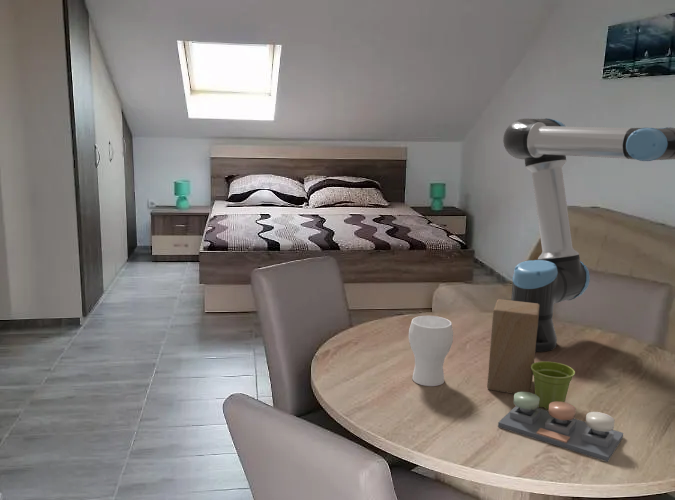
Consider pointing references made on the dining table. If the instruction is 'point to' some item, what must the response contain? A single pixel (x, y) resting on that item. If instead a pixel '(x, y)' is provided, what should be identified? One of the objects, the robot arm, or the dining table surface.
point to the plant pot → (551, 381)
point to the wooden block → (512, 346)
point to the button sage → (526, 401)
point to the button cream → (599, 422)
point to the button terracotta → (562, 411)
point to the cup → (430, 348)
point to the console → (562, 432)
